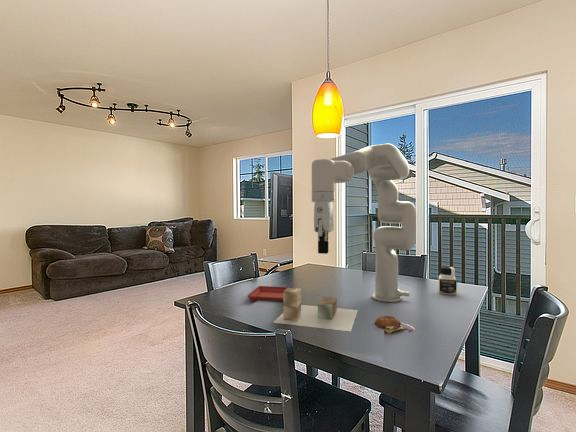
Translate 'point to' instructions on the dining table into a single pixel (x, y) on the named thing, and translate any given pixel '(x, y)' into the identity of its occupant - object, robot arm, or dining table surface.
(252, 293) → the red tray
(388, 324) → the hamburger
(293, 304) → the maple block
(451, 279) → the medicine bottle
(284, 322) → the slab
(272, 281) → the dining table surface
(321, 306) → the walnut block
